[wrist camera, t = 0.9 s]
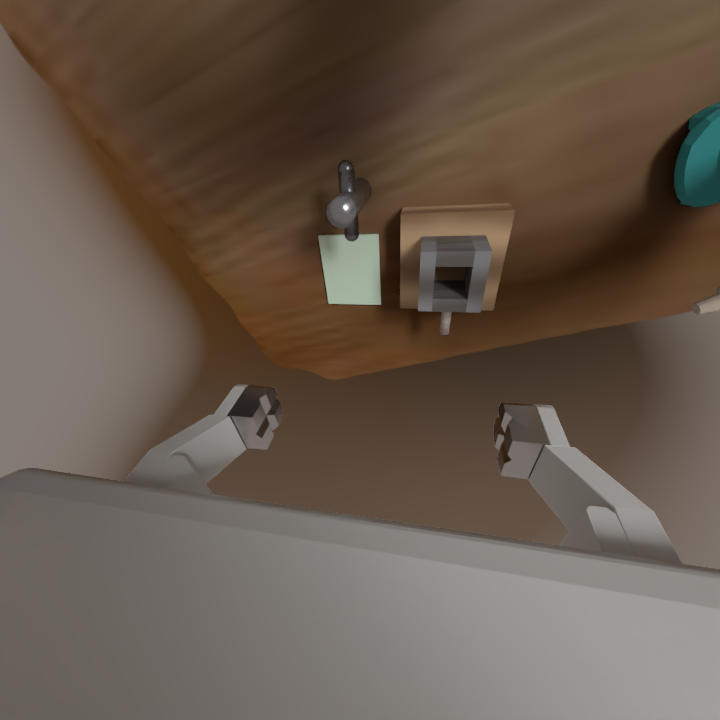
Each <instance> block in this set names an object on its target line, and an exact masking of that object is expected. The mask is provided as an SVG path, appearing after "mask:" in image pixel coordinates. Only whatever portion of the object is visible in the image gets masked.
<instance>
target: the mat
mask: <svg viewBox="0 0 720 720" xmlns="http://www.w3.org/2000/svg"><path fill="white" fill-rule="evenodd" d="M318 239H319V245H320V252H321V258H322V265H323V271H324V277H325V284H326V290H327V297H328V303H329V304H362V305H381V283H380V255H379V234H359V237H358V239H357V240H356V241H353V242H350V241H348V240H347V239H346V238H345V235H344V234H342V235H318Z"/></svg>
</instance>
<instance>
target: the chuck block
mask: <svg viewBox="0 0 720 720" xmlns="http://www.w3.org/2000/svg"><path fill="white" fill-rule="evenodd" d="M514 214H515V209H514V208H513V207H512V205H511V204H510V203H507V204H479V205H452V206H425V207H403V208H402V211H401V224H400V308H411V309H418V311H433V312H442V314H441V323H440V334H442V335H447V334H449V329H450V321H451V313H452V312H471V313H481V310H491V311H493V309H494V305H495V300H496V295H497V291H498V286H499V282H500V277H501V273H502V268H503V264H504V259H505V255H506V250H507V246H508V241H509V237H510V232H511V228H512V223H513V219H514Z"/></svg>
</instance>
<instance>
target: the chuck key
mask: <svg viewBox="0 0 720 720" xmlns="http://www.w3.org/2000/svg"><path fill="white" fill-rule="evenodd" d="M338 177H339V187H340V194H339V195H338V196H336V197H335V198H334V199H333V200H332V201H331V202H330V203H329V205H328V207H327V218H328V220H329V222H330V223H331V224H332V225H333V226H334V227H336V228H341V229H342V228H344V235H345V238H346V239H347V240H348V241H350V242H353V241H356V240H357V239H358V237H359V226H358V213H359V212H360V210H361V209H362V207H363V206H364V205H365V203H366V202H367V200H368V199H369V197H370V195H371V186H370V184H369V182H368V181H367V180H365V179H363V178H357V179H355V172H354V166H353V164H352V162H350V161H349V160H343V161H341V162H340V163H339V165H338Z"/></svg>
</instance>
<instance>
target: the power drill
mask: <svg viewBox="0 0 720 720" xmlns="http://www.w3.org/2000/svg"><path fill="white" fill-rule="evenodd" d="M688 130H691V131H690V132H689V134H688V135H687V137H686V139H685V140H684V142H683V143H682V146H681V149H680V152H679V155H678V157H677V160H676V166H675V171H674V187H675V191H676V195H677V198H678V199H679V200H680V201H681V203H680V204H683V205H689V206H692V207H706V206H709V205H712V204H715V203H718V202H720V102H719V103H716V104H714V105H712V106H709V107H707V108H705V109H704V110H702V111H700V112H699V113H697V114H695V115H694V116H692V117H691V118H690V121H689V129H688ZM692 310H693V312H694V313H696V314H703V313H709V312H717V311H720V286H719V287H718V289H717V290H716V294H714V295H712V296H710V297H708V298H705V299H703V300H701V301H699V302H697V303H694V304H693V305H692Z"/></svg>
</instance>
